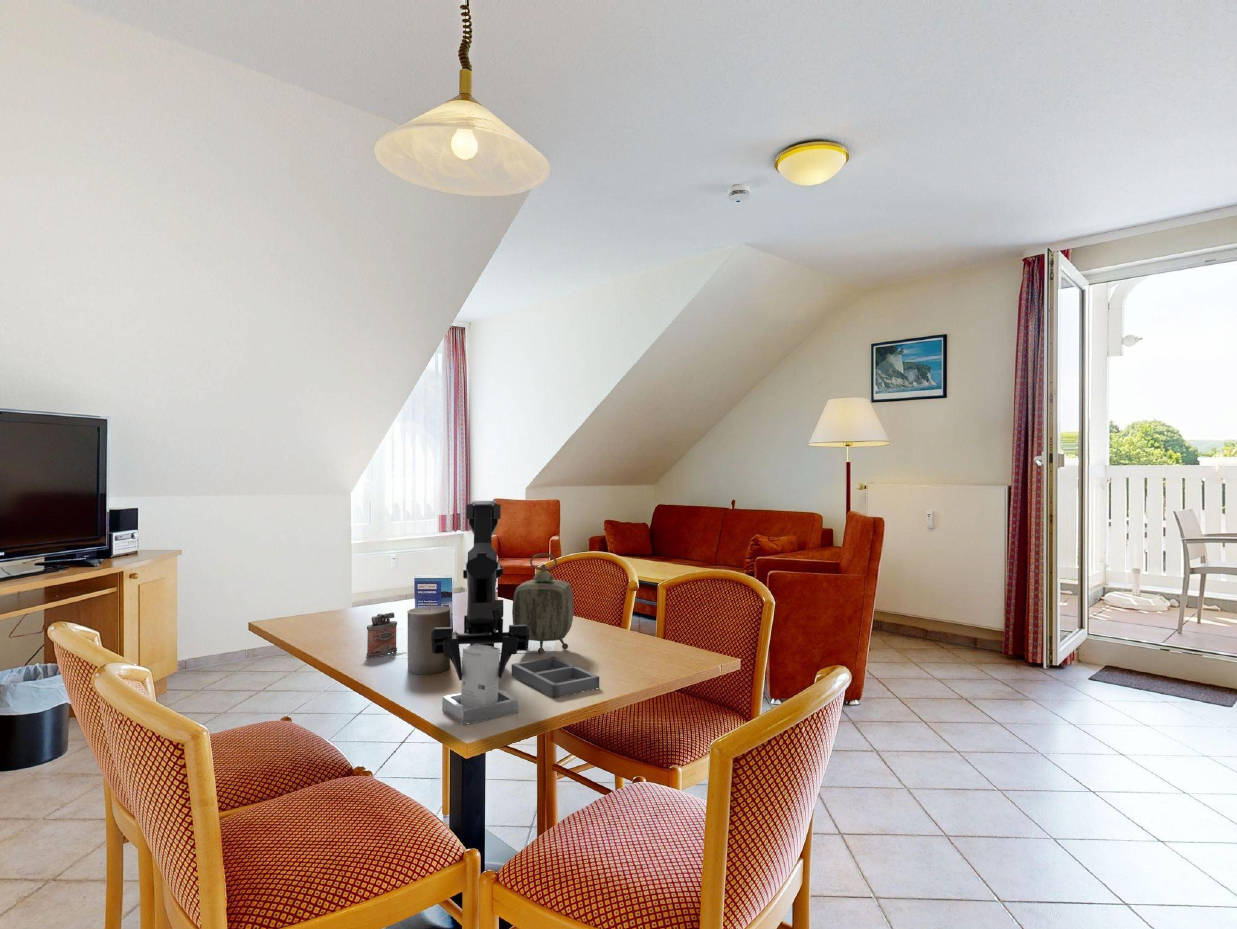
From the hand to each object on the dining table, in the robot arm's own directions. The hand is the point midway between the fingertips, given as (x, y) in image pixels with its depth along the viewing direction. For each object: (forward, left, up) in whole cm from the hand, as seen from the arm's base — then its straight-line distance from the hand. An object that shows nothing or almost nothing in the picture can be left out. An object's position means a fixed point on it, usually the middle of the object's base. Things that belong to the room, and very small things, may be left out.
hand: (480, 678), depth 129 cm
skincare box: (-1, +1, -7) cm, 7 cm away
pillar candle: (-34, +3, -7) cm, 35 cm away
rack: (-9, +22, -7) cm, 24 cm away
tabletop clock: (-32, +32, -7) cm, 46 cm away
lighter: (-53, -2, -7) cm, 54 cm away
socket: (-1, +1, -7) cm, 7 cm away
